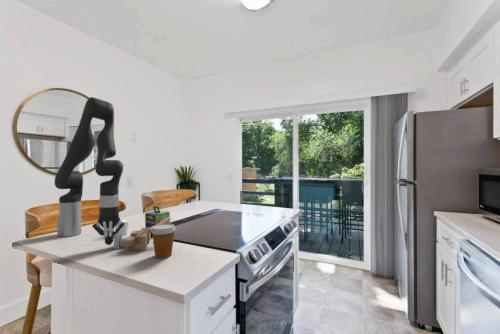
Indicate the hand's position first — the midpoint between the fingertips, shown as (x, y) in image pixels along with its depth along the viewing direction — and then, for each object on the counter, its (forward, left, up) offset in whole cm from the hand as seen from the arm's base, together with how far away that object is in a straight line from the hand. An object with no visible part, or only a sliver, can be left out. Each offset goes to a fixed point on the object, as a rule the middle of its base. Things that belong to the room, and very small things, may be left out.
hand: (108, 244), depth 105 cm
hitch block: (+12, 0, -2) cm, 12 cm away
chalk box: (+18, +18, -2) cm, 26 cm away
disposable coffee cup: (+24, -15, -2) cm, 28 cm away
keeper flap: (+22, 0, +7) cm, 23 cm away
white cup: (0, +21, -2) cm, 21 cm away
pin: (+9, +1, -2) cm, 9 cm away
